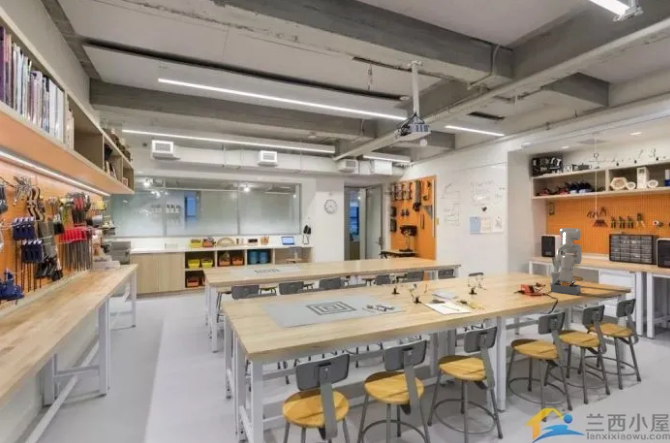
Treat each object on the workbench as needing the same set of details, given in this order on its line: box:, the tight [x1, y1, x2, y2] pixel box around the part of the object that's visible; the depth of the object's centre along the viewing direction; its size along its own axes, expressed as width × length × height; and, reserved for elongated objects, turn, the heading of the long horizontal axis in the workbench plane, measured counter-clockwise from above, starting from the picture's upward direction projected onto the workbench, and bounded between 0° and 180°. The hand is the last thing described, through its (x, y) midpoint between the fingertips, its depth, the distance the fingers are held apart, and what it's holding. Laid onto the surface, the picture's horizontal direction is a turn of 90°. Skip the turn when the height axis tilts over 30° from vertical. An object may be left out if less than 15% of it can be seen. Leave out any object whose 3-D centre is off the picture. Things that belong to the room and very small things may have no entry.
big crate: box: [550, 282, 582, 297], centre depth 319 cm, size 18×20×7 cm
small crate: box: [560, 282, 570, 287], centre depth 319 cm, size 10×7×6 cm
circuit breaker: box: [549, 271, 567, 288], centre depth 340 cm, size 8×14×15 cm, turn 64°
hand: (565, 288), depth 319 cm, fingers closed on small crate, 6 cm apart
